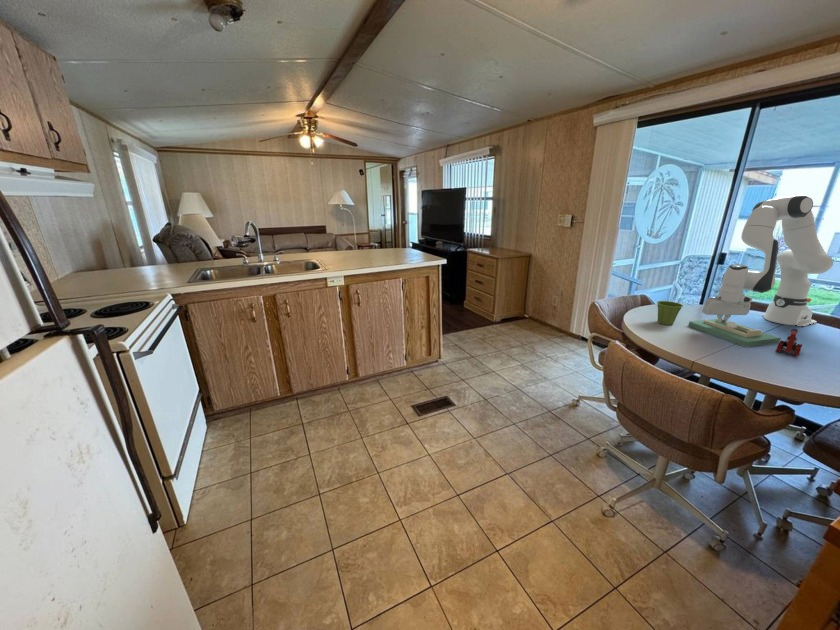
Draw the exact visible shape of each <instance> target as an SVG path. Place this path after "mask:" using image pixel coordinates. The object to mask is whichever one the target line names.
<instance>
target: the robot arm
mask: <svg viewBox="0 0 840 630" xmlns="http://www.w3.org/2000/svg"><path fill="white" fill-rule="evenodd" d="M813 206H814V200H813V198H812V197H810V196H808V195H806V194H796V195H788V196H781V197H777V198H772V199H766V200H761V201H760V202H758V203H756V204H755V206H754V207H753V208H752V211H751V213H750V214H749V216H748V218H747V220H746V222H745V224H744V227H743V229H742V233H741V240H742V242H743V243H744V244H746V245H747V246H749V247H751V248H753V249H756V250H759V251H761V252H762V253H764V255H765V258H764V264H763V270H762V271H756V270H749V269H750V268H749V266H747V265H745V264H739V263H738V264H737V263H736V264H735V263H734V264H730V265H728V266H727V268H726V269H725V272H724V274H723V276H722V278H721V287H720V288H719V291H718V294H717V296H710V297H708V298H706V300H705V302H704V304H703V308H702V310H701V313H703V314H705V315H708V316H716V317H717V319H718V322H719V323H726V321H728V320H729V319H730V318H731V316H748V314H749V313H750V311H751V307H752V304H751V302H752V301H753V298H752V297H750V296H748V295H745V294H743V293H744V290H746V291H752V292H756V293H760V294H762V293H766V292H769V291H771V290H773V288H774V286H775V285H776V269H777V264H778V265H779V267H780V280H779V281H780V282H779V285H778V287H777V288H778V289H777V292H776V293H775V295H774V296H773V300H772V302H770V303H769V304H768V306H767V309H766V311H765V312H764V313H762V315H761V316H762V317H763V319H765V320H767V321H769V322H773V323H777V324H781V325H787V326H795V325H797V326H796V327H801V326H804V327H807V326H810V325H809V324H811V325H814V324H817V320H815V319H812V316H813V311H812V310H811V309H810V308H809V307H808V305H807V303H810V302H811V301H812V298H810V297H809V298H808V297H807V296H808V293H809V291H810V290H811V289H810V288H811V284H812V283H811V281H810V279H809V277H808V275H819V274H825V273H826V272H828V271H829V270H830V269H831V268H832V267H833V265H834V260H833V258H832V257H831V256H830V255H829V254H828V253H827V252H826V251H825V249H824V247H823V245H822V244H821V243H820V241H819V238H818V234H817V233H818V232H817V227H816V222H815V216H814V214H813V211H812V209H813ZM777 221H781V228H782V235H783V239H784V244H785V245H786V246H787V247H788V248H789V249H786V250H783V251H781V252H780V253H779V241H778V240H777V239H776V238H775V237H774V232H775V228H776V226H777ZM778 254H779V255H778ZM813 323H814V324H813Z"/></svg>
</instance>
